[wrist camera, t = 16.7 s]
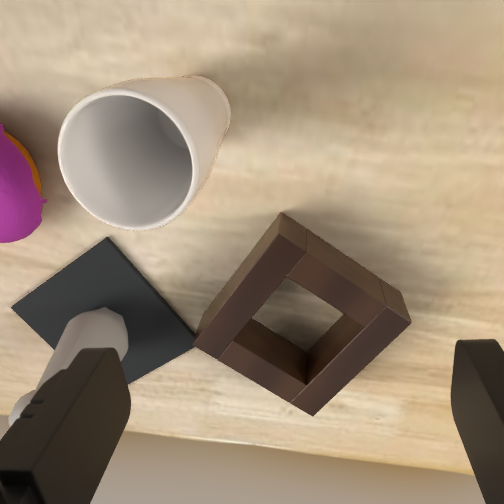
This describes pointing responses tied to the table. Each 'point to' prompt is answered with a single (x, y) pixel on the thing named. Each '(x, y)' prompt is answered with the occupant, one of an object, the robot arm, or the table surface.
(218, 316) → the holder
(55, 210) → the table surface
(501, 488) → the robot arm
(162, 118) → the drinking glass
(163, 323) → the mat
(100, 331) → the salt shaker
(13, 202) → the donut
